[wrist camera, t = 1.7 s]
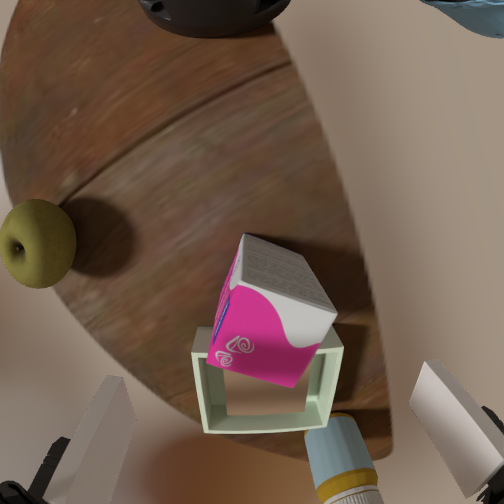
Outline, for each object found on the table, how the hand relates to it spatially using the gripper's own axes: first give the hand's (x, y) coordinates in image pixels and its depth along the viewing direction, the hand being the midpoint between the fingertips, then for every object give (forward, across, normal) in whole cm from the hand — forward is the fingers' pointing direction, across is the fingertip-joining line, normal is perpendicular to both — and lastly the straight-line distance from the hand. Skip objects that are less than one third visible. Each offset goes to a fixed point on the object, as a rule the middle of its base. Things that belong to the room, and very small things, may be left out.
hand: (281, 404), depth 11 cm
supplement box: (+16, 0, 0) cm, 16 cm away
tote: (+16, +1, -11) cm, 19 cm away
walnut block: (+16, +1, -11) cm, 19 cm away
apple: (+16, -20, +4) cm, 26 cm away
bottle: (+16, +9, -22) cm, 29 cm away
